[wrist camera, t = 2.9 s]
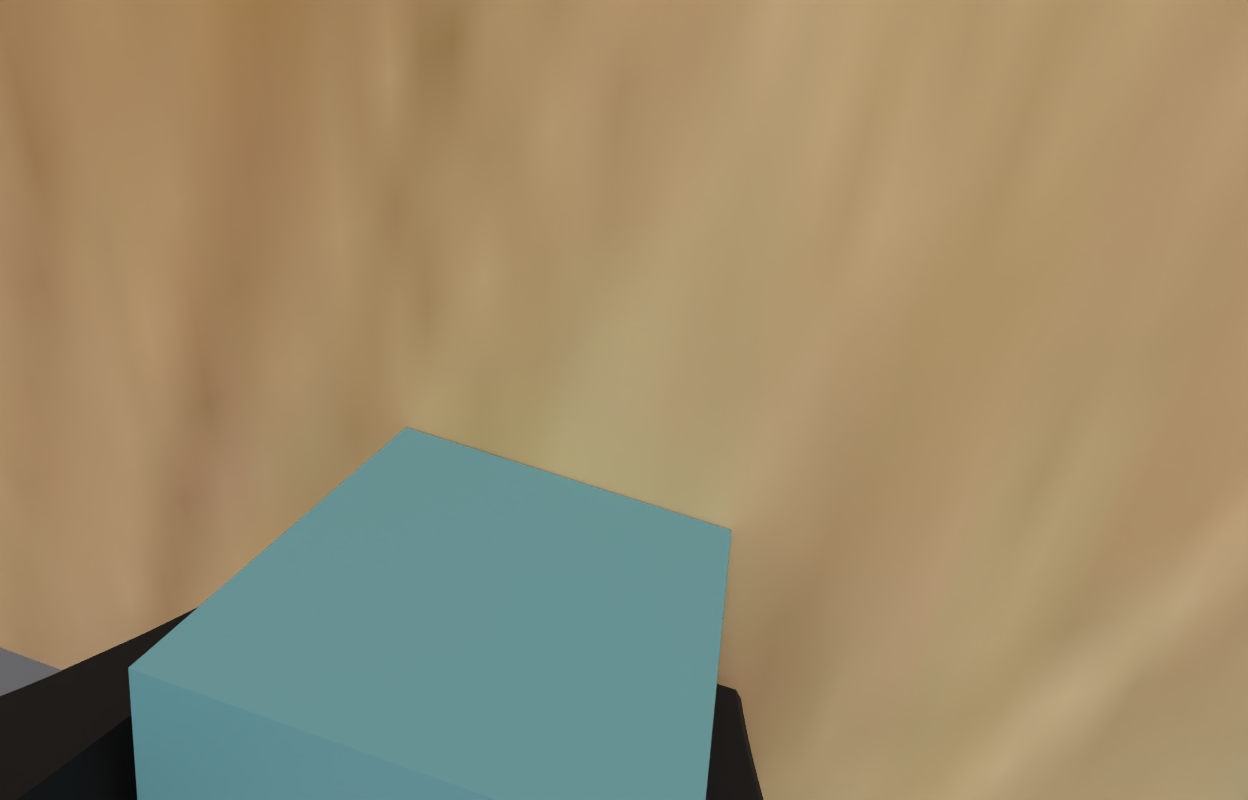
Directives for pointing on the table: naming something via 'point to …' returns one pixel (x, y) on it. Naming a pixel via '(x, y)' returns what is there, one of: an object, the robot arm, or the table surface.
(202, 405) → the table surface
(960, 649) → the table surface
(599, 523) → the teal block
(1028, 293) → the table surface
